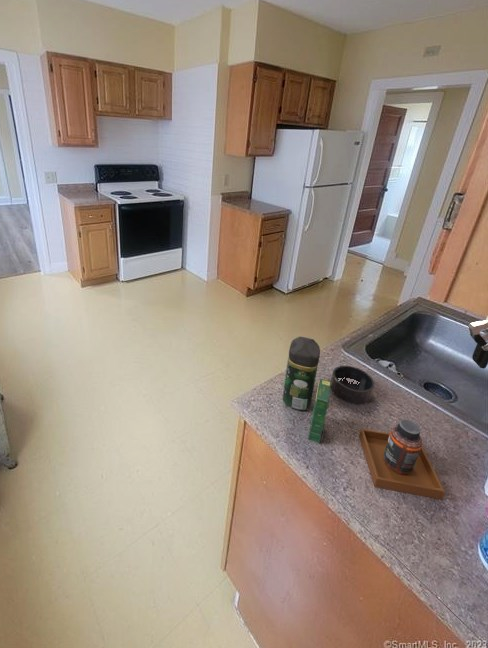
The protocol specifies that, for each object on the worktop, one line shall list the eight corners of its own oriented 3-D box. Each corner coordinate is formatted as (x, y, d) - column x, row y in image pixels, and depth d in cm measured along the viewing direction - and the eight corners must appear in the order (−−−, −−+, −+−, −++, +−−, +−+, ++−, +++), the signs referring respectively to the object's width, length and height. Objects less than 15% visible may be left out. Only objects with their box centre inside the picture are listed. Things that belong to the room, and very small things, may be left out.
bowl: (365, 380, 99) (368, 368, 98) (376, 407, 89) (379, 394, 87) (327, 374, 101) (329, 363, 99) (333, 401, 91) (336, 388, 89)
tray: (415, 445, 78) (418, 437, 77) (441, 499, 66) (445, 491, 65) (358, 435, 80) (360, 428, 79) (374, 486, 68) (376, 478, 67)
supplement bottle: (417, 468, 72) (432, 430, 68) (402, 480, 69) (417, 442, 65) (392, 447, 77) (404, 411, 73) (377, 458, 74) (388, 421, 70)
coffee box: (311, 416, 86) (319, 377, 81) (323, 420, 84) (331, 380, 80) (307, 440, 79) (315, 398, 74) (319, 444, 78) (328, 402, 73)
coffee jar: (284, 383, 97) (292, 331, 90) (311, 391, 94) (322, 337, 87) (280, 406, 88) (288, 350, 82) (309, 415, 86) (321, 358, 79)
